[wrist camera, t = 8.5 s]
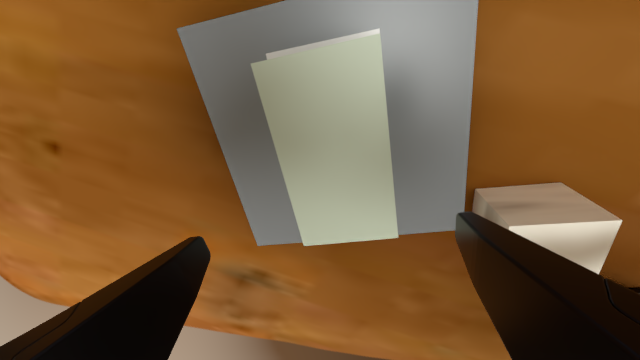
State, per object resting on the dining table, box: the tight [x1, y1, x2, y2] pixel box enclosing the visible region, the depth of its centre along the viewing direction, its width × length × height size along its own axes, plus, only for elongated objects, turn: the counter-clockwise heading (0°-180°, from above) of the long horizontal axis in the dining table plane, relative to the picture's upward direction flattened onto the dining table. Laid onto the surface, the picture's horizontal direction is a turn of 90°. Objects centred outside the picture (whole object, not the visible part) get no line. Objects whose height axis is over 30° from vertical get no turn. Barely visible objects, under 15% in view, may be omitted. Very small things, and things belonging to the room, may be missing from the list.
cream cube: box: [472, 182, 622, 274], centre depth 19 cm, size 6×6×5 cm
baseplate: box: [177, 0, 478, 246], centre depth 19 cm, size 18×18×1 cm
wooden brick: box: [251, 33, 398, 246], centre depth 17 cm, size 12×6×4 cm, turn 12°
